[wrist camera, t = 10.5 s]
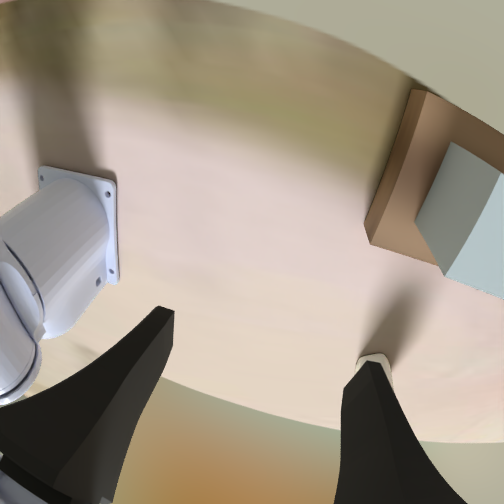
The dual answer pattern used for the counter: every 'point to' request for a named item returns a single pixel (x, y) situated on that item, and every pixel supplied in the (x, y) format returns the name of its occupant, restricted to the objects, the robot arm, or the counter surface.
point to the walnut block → (423, 169)
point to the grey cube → (466, 221)
